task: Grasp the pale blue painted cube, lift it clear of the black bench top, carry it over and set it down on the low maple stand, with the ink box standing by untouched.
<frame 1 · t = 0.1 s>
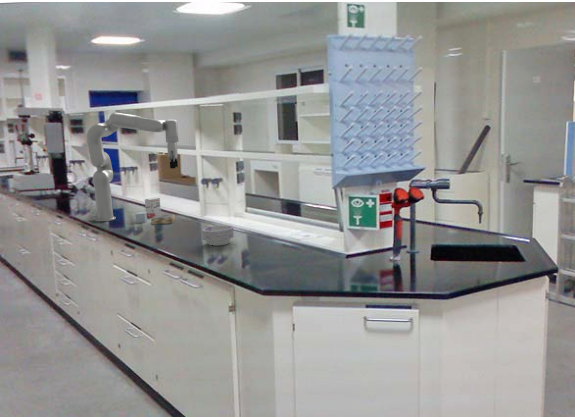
hand: (174, 167, 348), 31 cm above the countertop, tool pointing down, fingers open, 9 cm apart
paper bowls: (218, 244, 272), on the countertop
cube: (141, 221, 340), on the countertop
maple stand: (163, 221, 337), on the countertop
ink box: (153, 216, 357), on the countertop
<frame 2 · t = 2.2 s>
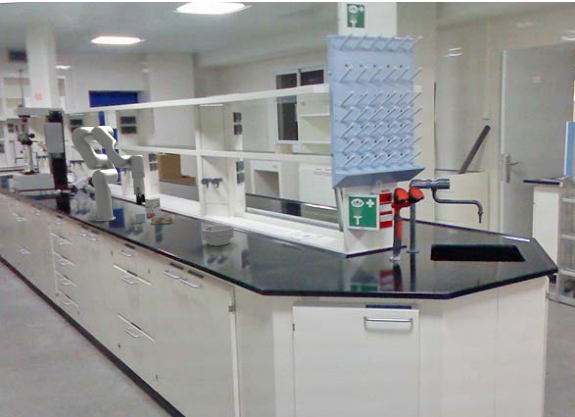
hand: (141, 203, 338), 11 cm above the countertop, tool pointing down, fingers open, 9 cm apart
nothing on the countertop moved.
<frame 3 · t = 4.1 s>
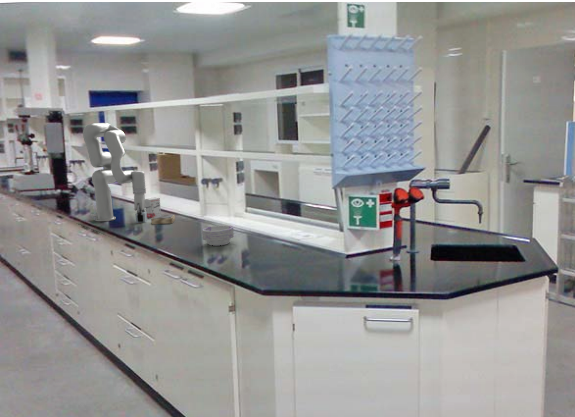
hand: (141, 220, 340), 1 cm above the countertop, tool pointing down, fingers closed on cube, 5 cm apart
cube: (141, 221, 340), on the countertop, touching gripper
everything else where it was.
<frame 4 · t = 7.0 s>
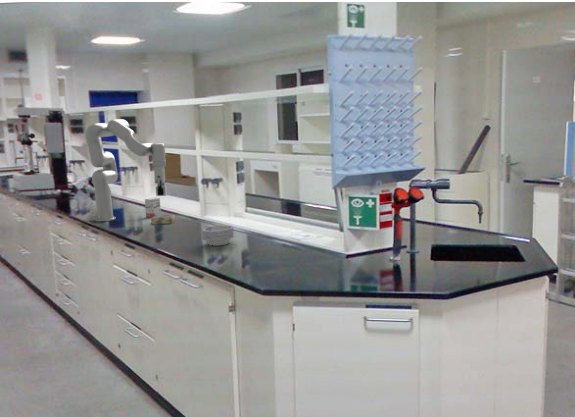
hand: (161, 194, 334), 17 cm above the countertop, tool pointing down, fingers closed on cube, 5 cm apart
cube: (161, 195, 334), point 16 cm above the countertop, touching gripper
everything else where it was.
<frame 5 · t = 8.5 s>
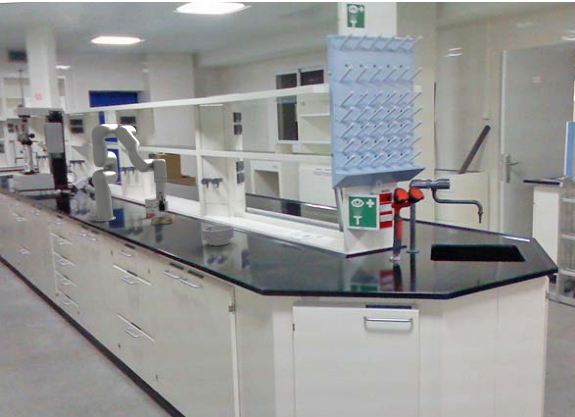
hand: (163, 209, 336), 7 cm above the countertop, tool pointing down, fingers closed on cube, 5 cm apart
cube: (163, 210, 336), point 7 cm above the countertop, touching gripper
everything else where it was.
when the fingers open (5 cm above the countertop, at t = 9.9 s): cube stays where it is, resting on maple stand.
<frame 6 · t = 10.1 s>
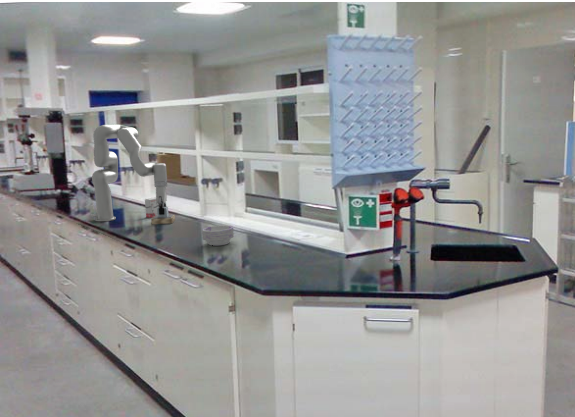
hand: (163, 213, 336), 5 cm above the countertop, tool pointing down, fingers open, 7 cm apart
cube: (163, 216, 336), point 3 cm above the countertop, touching maple stand
everything else where it was.
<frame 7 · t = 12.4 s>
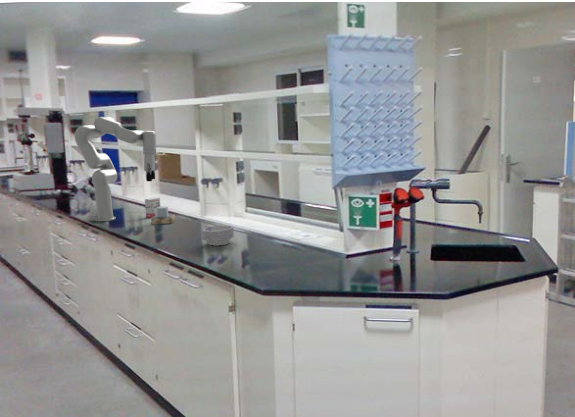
hand: (150, 180, 337), 25 cm above the countertop, tool pointing down, fingers open, 9 cm apart
nothing on the countertop moved.
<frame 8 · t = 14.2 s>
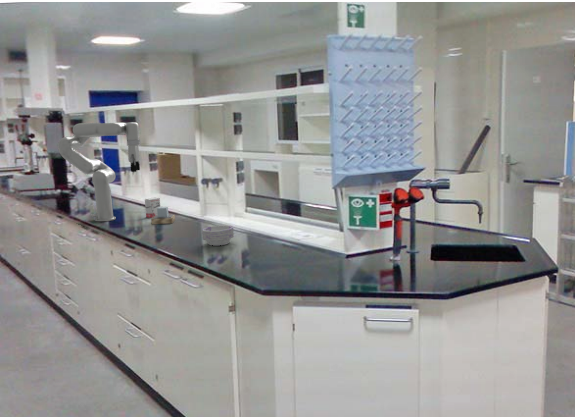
hand: (135, 171, 343), 30 cm above the countertop, tool pointing down, fingers open, 9 cm apart
nothing on the countertop moved.
at the end: cube inside the target area on the maple stand (0.0 cm from its centre), point 3.3 cm above the maple stand's base; cube tilted 0°; the gripper is holding nothing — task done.
